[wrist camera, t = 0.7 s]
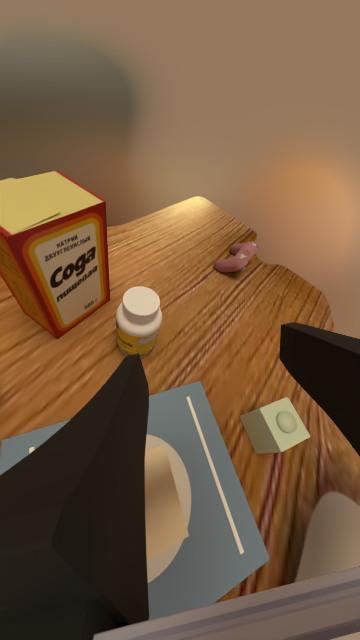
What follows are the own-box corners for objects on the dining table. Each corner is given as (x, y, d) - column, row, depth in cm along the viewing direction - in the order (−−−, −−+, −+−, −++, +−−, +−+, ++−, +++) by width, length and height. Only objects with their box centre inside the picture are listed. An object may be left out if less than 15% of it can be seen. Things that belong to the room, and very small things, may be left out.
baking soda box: (80, 277, 34) (57, 166, 21) (110, 300, 33) (105, 197, 20) (23, 311, 28) (-54, 188, 16) (57, 339, 27) (4, 232, 15)
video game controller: (222, 283, 44) (250, 269, 39) (210, 265, 43) (236, 248, 38) (240, 262, 50) (266, 247, 45) (229, 246, 49) (254, 229, 44)
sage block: (282, 440, 27) (314, 435, 23) (255, 453, 26) (285, 452, 21) (264, 405, 29) (290, 395, 25) (239, 416, 28) (262, 407, 23)
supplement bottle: (110, 333, 30) (107, 287, 22) (144, 321, 32) (152, 276, 24) (125, 365, 28) (129, 327, 20) (161, 350, 30) (176, 310, 22)
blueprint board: (266, 556, 20) (290, 572, 18) (-17, 775, 12) (-58, 872, 9) (198, 382, 29) (207, 373, 26) (4, 440, 21) (-15, 437, 18)
